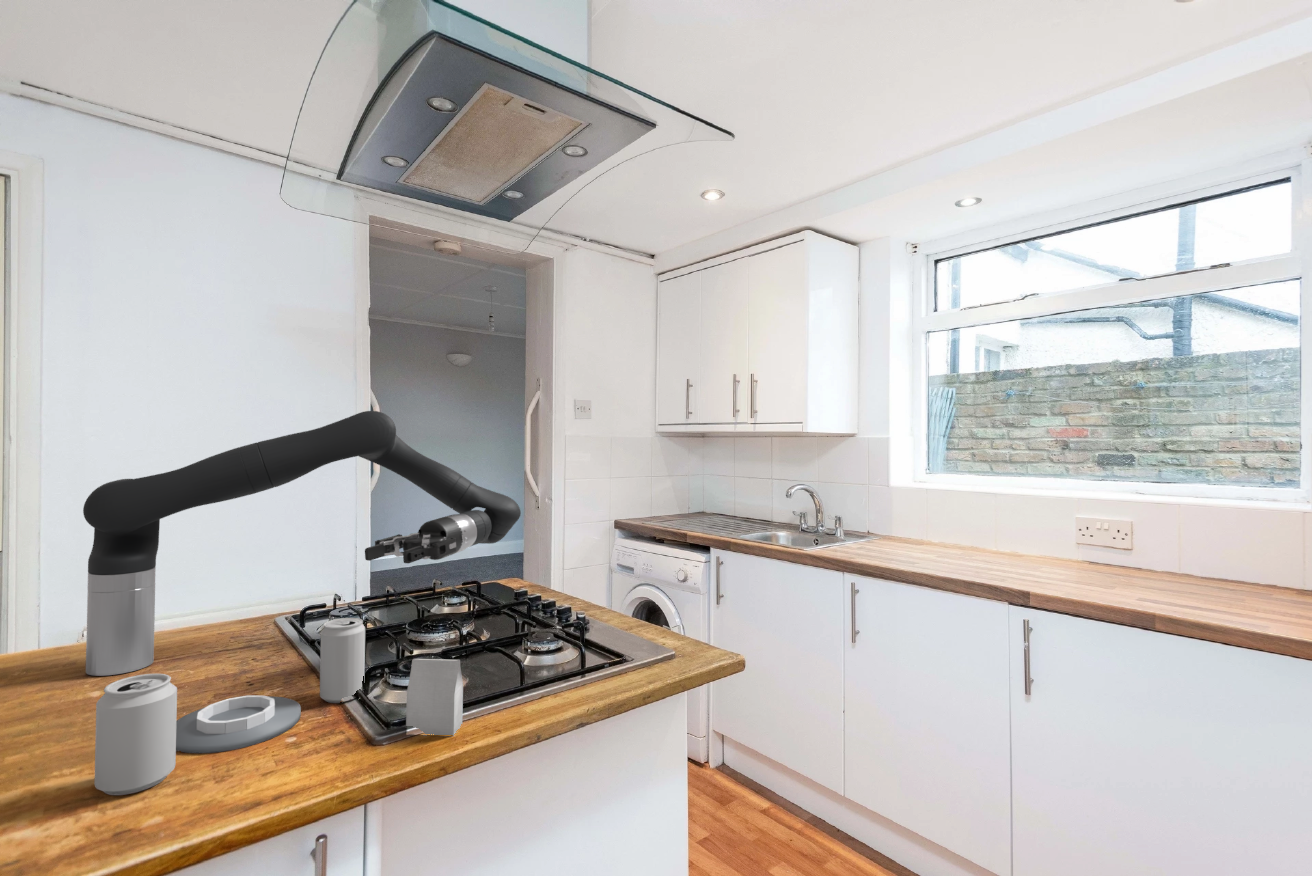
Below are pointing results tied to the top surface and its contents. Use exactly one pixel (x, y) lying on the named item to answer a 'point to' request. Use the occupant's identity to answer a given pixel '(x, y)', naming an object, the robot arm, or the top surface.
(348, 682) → the beverage can
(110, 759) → the can
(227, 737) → the dock
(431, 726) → the grey printed carton
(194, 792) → the top surface
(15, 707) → the top surface
